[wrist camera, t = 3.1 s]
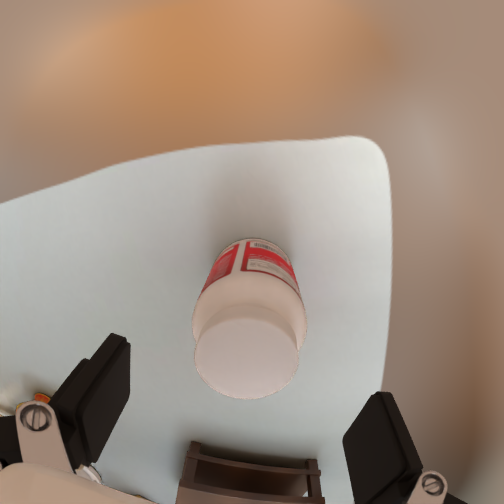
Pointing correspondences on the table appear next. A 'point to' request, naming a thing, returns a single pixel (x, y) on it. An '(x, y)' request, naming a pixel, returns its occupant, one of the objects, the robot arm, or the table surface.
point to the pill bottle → (249, 321)
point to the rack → (245, 482)
